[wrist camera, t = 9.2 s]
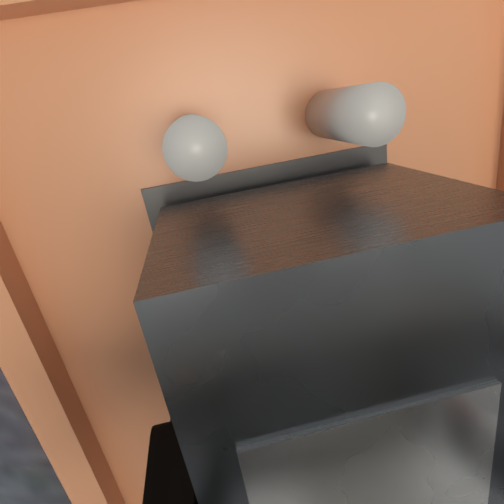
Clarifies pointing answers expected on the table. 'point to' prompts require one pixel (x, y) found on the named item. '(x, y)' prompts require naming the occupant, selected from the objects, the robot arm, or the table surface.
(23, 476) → the table surface
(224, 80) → the drive tray
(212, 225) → the block
